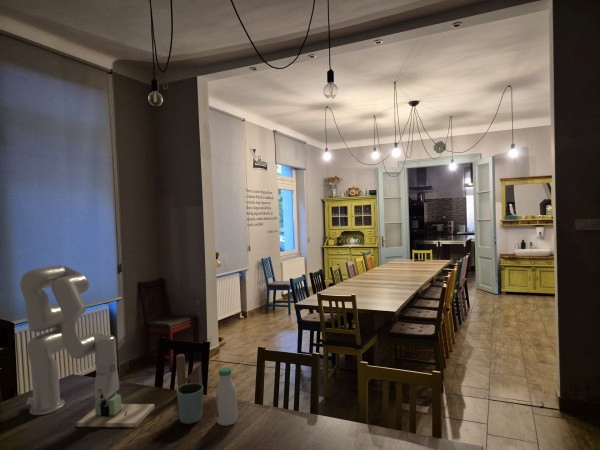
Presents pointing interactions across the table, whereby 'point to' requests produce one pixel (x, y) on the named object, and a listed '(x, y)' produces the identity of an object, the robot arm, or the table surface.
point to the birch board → (118, 417)
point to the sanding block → (110, 406)
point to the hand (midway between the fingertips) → (109, 411)
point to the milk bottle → (226, 399)
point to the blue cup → (190, 402)
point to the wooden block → (181, 373)
